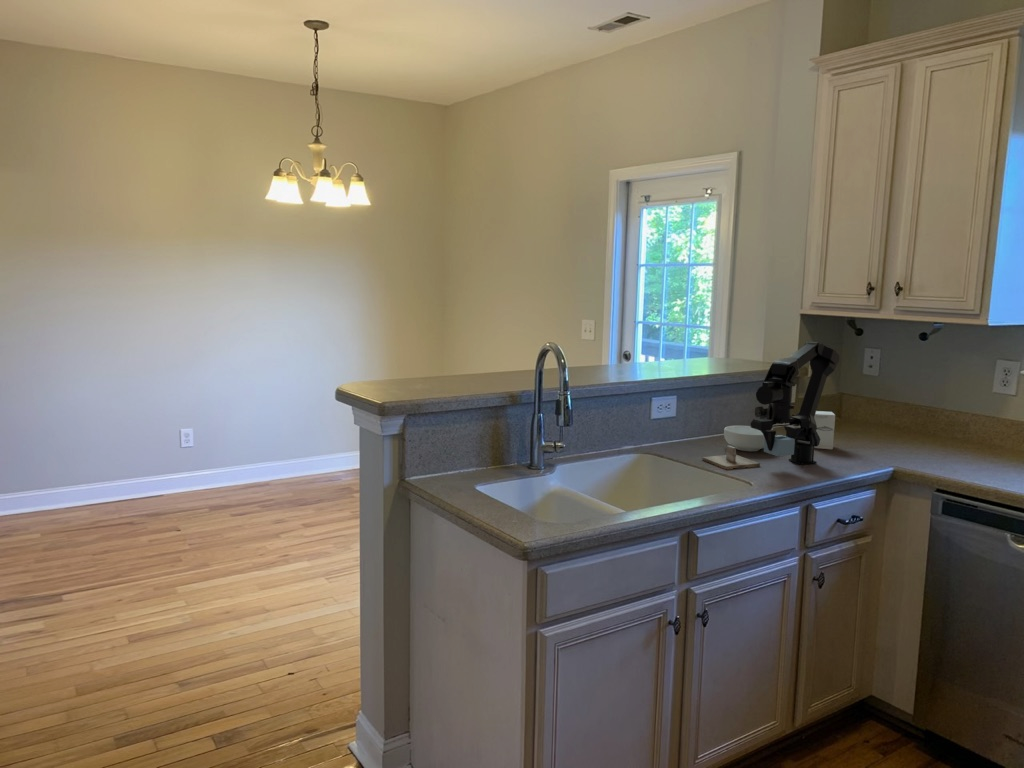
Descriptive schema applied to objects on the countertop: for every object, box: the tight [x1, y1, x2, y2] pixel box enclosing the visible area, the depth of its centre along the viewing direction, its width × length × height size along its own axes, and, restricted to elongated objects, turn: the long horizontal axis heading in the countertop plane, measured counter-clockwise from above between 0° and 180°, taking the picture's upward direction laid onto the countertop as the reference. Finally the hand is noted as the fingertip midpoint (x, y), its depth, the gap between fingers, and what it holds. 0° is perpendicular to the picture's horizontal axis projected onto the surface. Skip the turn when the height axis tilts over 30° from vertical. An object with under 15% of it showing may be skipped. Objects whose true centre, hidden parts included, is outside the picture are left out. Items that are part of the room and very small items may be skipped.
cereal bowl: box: [723, 425, 765, 452], centre depth 268 cm, size 17×17×7 cm
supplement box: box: [814, 410, 836, 450], centre depth 271 cm, size 7×7×13 cm
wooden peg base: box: [701, 445, 761, 470], centre depth 247 cm, size 13×13×6 cm
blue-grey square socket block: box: [763, 434, 795, 457], centre depth 239 cm, size 6×6×5 cm
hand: (778, 449), depth 239 cm, fingers closed on blue-grey square socket block, 6 cm apart
